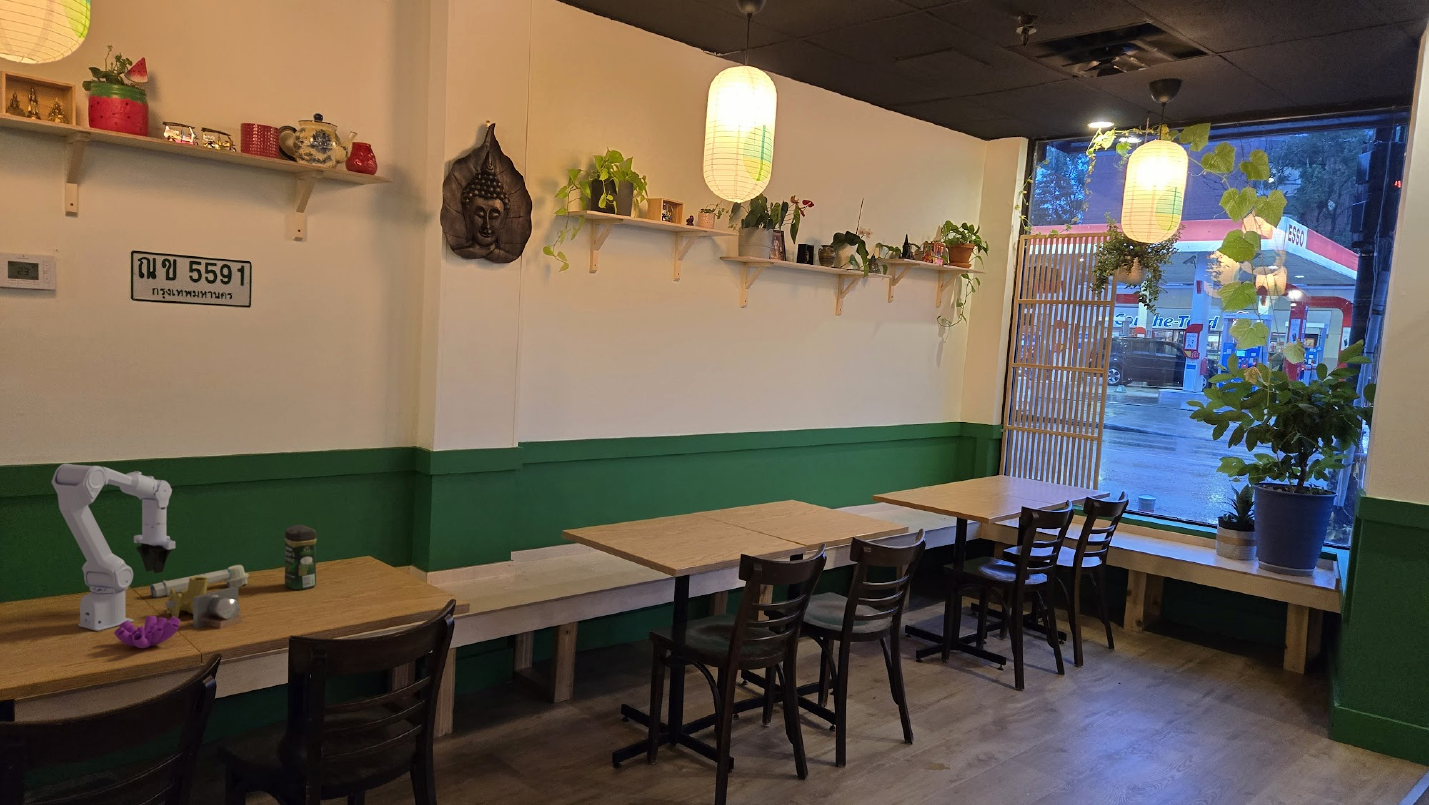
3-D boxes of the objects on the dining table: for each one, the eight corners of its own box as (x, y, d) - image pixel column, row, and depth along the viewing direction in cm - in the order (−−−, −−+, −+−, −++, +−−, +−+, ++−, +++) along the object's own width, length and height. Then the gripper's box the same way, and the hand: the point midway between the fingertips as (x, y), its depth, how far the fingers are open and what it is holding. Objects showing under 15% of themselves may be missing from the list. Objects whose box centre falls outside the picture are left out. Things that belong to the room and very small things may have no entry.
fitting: (210, 631, 238) (210, 601, 237) (193, 627, 240) (193, 597, 240) (251, 619, 249) (251, 590, 248) (233, 615, 251) (234, 586, 251)
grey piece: (148, 582, 266) (243, 559, 282) (152, 604, 267) (246, 580, 283) (153, 586, 262) (248, 562, 278) (156, 609, 263) (251, 584, 280)
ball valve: (196, 608, 258) (155, 611, 251) (202, 572, 258) (162, 573, 250) (213, 622, 250) (172, 625, 242) (220, 584, 250) (179, 586, 242)
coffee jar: (280, 585, 282) (281, 525, 280) (307, 581, 287) (307, 522, 286) (292, 592, 275) (293, 530, 273) (319, 587, 280) (320, 527, 279)
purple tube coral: (112, 665, 221) (100, 628, 224) (177, 648, 234) (165, 614, 236) (131, 645, 216) (118, 608, 218) (196, 629, 228) (184, 595, 231)
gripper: (185, 523, 255) (185, 572, 256) (151, 517, 261) (151, 564, 262) (161, 528, 248) (161, 577, 249) (126, 521, 254) (126, 570, 255)
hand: (154, 571), depth 255 cm, fingers open, 3 cm apart
